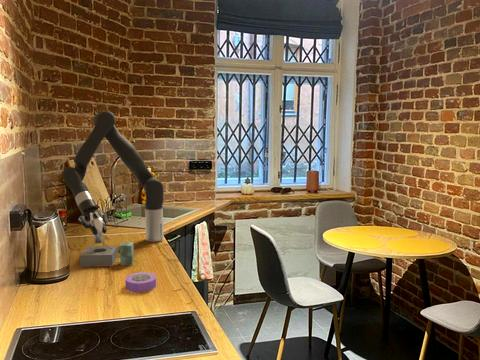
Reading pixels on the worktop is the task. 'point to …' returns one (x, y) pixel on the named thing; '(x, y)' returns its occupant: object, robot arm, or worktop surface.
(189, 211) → the worktop surface
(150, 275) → the masking tape
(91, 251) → the socket block
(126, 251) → the square peg
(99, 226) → the steel peg
